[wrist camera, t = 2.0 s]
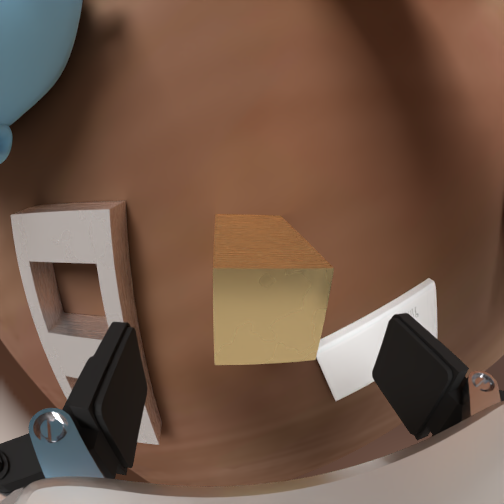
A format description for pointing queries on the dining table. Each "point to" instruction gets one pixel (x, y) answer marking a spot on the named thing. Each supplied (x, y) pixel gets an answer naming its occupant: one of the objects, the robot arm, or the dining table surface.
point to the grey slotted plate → (110, 278)
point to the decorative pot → (32, 55)
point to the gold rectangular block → (266, 291)
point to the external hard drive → (371, 340)
